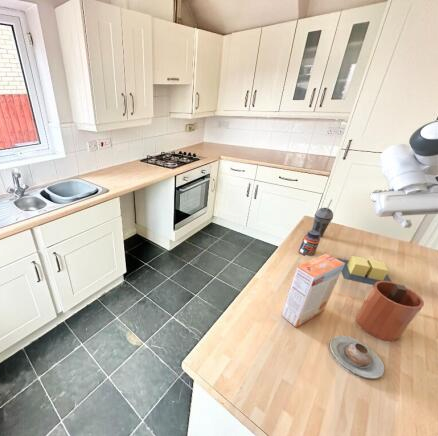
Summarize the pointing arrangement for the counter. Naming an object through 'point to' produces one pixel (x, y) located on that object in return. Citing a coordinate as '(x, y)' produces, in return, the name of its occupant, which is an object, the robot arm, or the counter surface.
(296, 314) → the cracker box
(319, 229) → the beverage cup
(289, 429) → the counter surface
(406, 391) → the counter surface
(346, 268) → the butter dish
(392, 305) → the crock
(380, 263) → the butter
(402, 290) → the knife
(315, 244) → the supplement bottle
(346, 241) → the counter surface
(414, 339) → the counter surface
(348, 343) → the grey lid
